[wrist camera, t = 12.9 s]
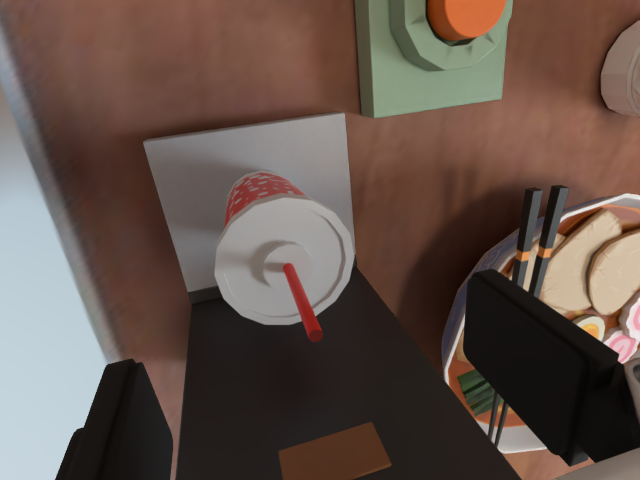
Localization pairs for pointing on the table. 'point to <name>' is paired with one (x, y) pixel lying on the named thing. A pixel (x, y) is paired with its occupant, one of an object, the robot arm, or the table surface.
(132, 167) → the table surface
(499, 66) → the brew pad
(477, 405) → the ramen bowl
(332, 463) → the coffee maker
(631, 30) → the white cup
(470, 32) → the button
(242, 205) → the beverage cup
